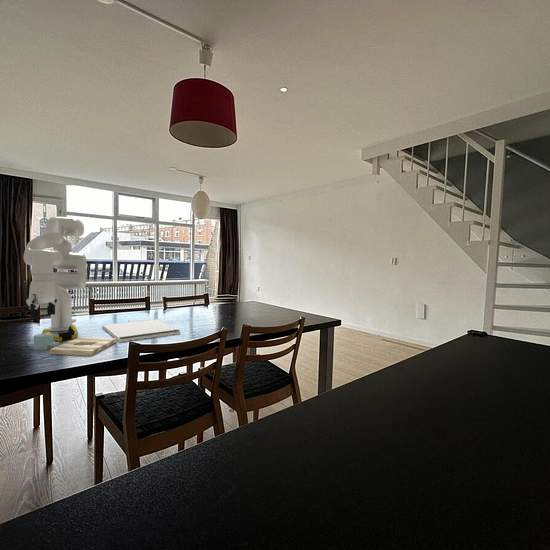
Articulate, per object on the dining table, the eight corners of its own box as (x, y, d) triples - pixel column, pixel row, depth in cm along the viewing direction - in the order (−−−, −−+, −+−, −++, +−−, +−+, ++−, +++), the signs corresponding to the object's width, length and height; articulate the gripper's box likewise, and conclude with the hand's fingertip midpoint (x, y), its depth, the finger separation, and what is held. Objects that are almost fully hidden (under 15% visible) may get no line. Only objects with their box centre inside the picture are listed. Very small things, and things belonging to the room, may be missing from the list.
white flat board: (180, 330, 175) (119, 338, 155) (180, 334, 175) (119, 343, 155) (156, 319, 201) (102, 324, 181) (156, 322, 202) (102, 329, 181)
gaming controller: (40, 340, 154) (49, 344, 149) (40, 329, 154) (49, 332, 148) (73, 334, 167) (83, 337, 161) (73, 324, 166) (83, 327, 161)
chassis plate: (80, 340, 155) (80, 336, 155) (116, 342, 154) (116, 338, 154) (50, 353, 135) (49, 349, 135) (91, 355, 134) (91, 351, 134)
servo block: (34, 346, 144) (34, 331, 144) (60, 347, 144) (60, 332, 143) (27, 349, 140) (26, 333, 140) (53, 350, 140) (53, 334, 139)
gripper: (49, 276, 149) (49, 312, 149) (18, 278, 131) (18, 319, 132) (64, 277, 148) (64, 313, 149) (36, 279, 131) (36, 320, 132)
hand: (43, 316), depth 141 cm, fingers open, 9 cm apart
